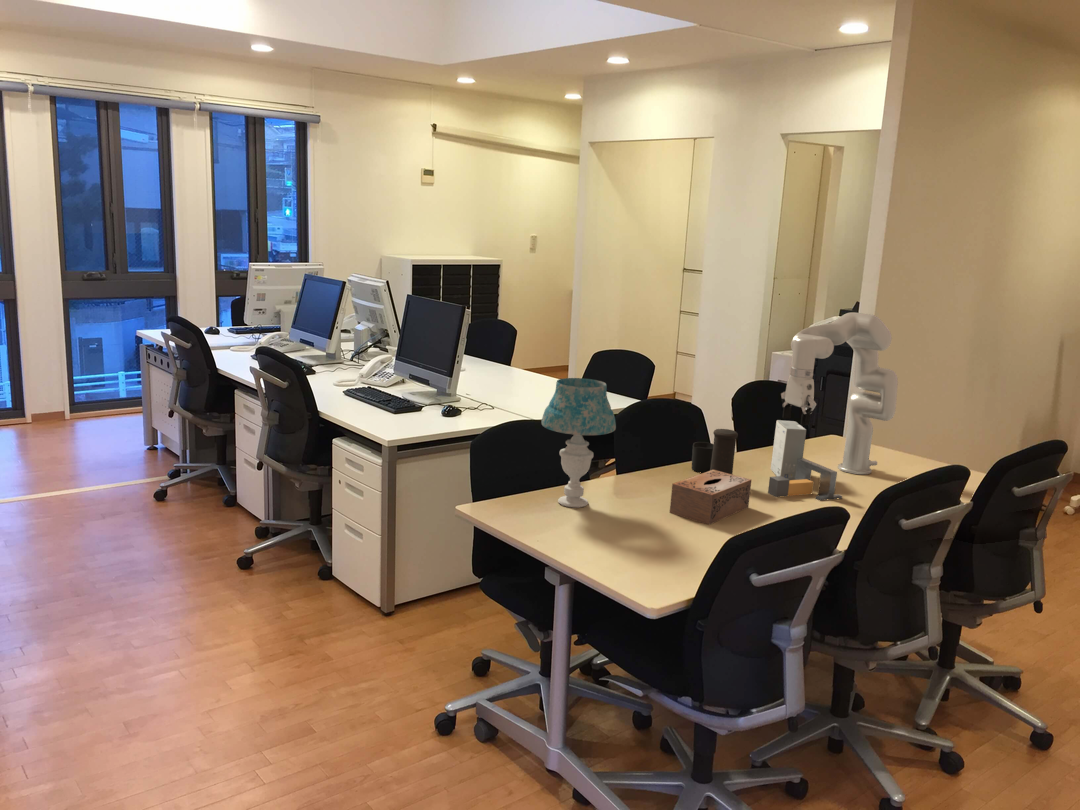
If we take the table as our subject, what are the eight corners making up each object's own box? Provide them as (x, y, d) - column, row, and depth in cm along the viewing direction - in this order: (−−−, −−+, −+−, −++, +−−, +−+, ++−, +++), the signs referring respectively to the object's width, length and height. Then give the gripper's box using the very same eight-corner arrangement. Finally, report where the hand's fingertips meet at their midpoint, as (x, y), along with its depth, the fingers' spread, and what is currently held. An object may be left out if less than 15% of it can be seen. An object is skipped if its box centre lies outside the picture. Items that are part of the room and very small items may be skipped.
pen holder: (719, 470, 328) (721, 445, 326) (709, 475, 320) (712, 449, 318) (696, 465, 333) (698, 440, 331) (686, 470, 325) (689, 445, 323)
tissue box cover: (708, 525, 266) (712, 494, 264) (669, 513, 275) (672, 483, 273) (748, 508, 285) (751, 479, 283) (710, 497, 295) (713, 469, 293)
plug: (804, 490, 309) (806, 474, 308) (812, 494, 305) (815, 478, 303) (767, 493, 303) (769, 476, 302) (775, 497, 299) (777, 480, 298)
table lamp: (571, 487, 295) (579, 373, 287) (624, 506, 279) (634, 385, 270) (521, 500, 279) (528, 379, 270) (574, 520, 262) (583, 393, 254)
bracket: (808, 483, 318) (811, 457, 316) (841, 498, 302) (845, 471, 299) (786, 485, 314) (789, 458, 312) (819, 500, 298) (822, 473, 296)
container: (734, 482, 313) (740, 429, 309) (729, 488, 305) (735, 434, 301) (711, 478, 317) (717, 425, 313) (705, 484, 309) (711, 430, 304)
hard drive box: (800, 481, 319) (807, 430, 315) (779, 480, 319) (786, 428, 315) (789, 470, 334) (795, 420, 330) (769, 468, 334) (775, 419, 330)
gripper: (827, 377, 288) (820, 427, 291) (794, 368, 303) (788, 415, 307) (809, 378, 285) (803, 428, 288) (776, 368, 300) (771, 416, 304)
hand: (795, 421), depth 298 cm, fingers open, 9 cm apart
